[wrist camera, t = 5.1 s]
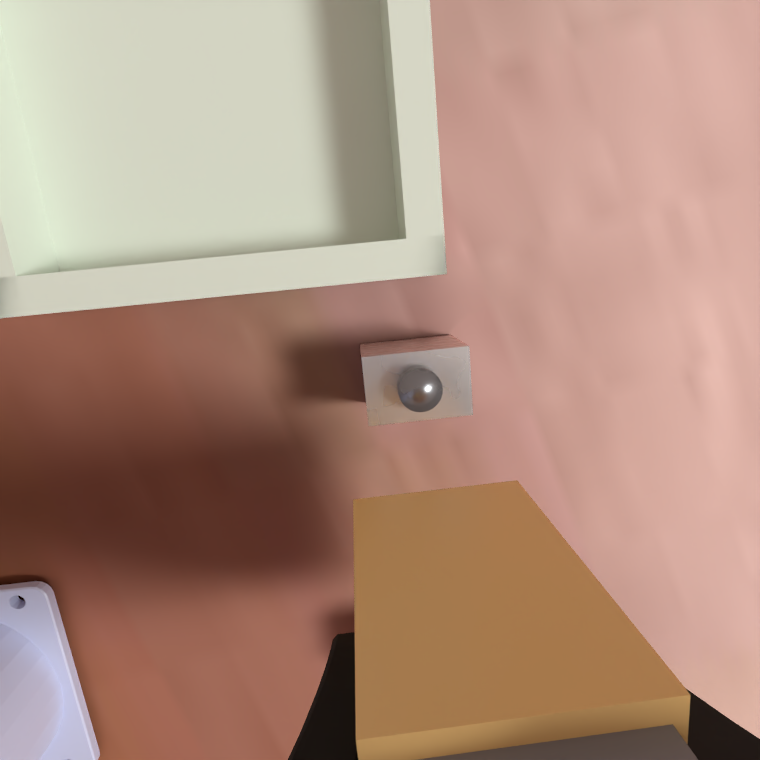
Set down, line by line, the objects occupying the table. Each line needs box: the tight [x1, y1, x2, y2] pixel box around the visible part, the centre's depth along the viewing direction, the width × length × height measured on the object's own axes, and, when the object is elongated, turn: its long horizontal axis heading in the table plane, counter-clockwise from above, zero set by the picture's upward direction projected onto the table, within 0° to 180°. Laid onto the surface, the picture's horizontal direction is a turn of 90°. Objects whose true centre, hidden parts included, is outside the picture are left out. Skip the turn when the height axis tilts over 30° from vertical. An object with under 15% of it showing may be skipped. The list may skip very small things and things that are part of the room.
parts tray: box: [0, 0, 447, 318], centre depth 12 cm, size 12×14×2 cm
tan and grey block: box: [353, 481, 698, 760], centre depth 9 cm, size 4×6×7 cm, turn 6°
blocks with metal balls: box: [360, 335, 473, 426], centre depth 15 cm, size 3×12×3 cm, turn 5°
